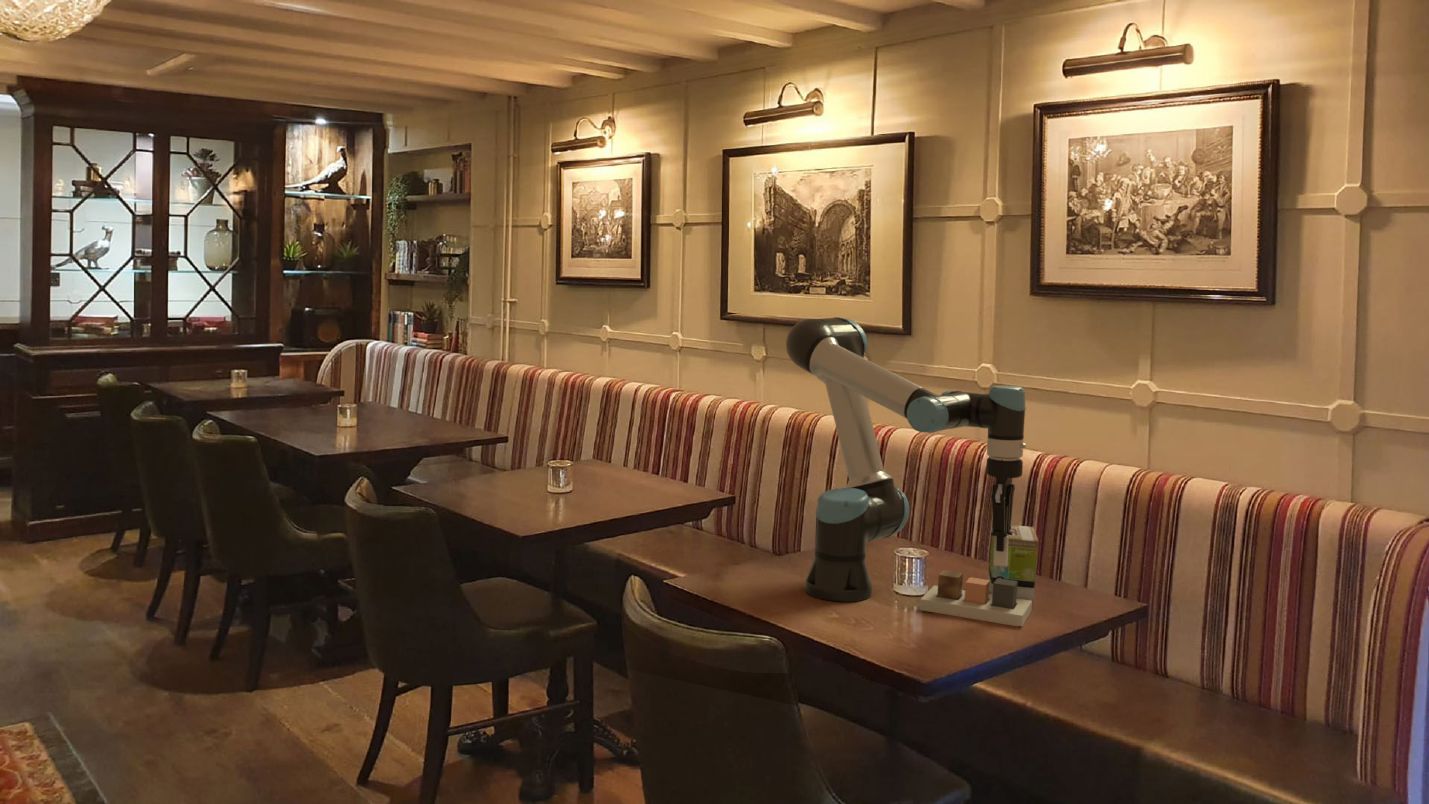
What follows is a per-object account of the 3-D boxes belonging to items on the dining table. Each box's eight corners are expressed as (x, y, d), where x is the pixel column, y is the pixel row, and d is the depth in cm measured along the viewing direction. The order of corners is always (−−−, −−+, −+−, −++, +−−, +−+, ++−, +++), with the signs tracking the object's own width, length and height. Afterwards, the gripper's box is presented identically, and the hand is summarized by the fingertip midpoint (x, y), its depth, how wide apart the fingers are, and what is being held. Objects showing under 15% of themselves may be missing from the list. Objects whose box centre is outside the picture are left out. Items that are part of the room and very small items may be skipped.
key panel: (919, 610, 244) (920, 599, 244) (933, 595, 255) (934, 585, 255) (1021, 627, 235) (1022, 615, 235) (1031, 611, 246) (1032, 600, 245)
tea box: (1034, 603, 252) (1039, 540, 250) (989, 599, 254) (993, 536, 252) (1029, 585, 267) (1034, 525, 265) (987, 581, 269) (991, 521, 267)
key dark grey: (991, 605, 241) (993, 583, 240) (995, 600, 245) (997, 578, 244) (1012, 608, 239) (1014, 586, 239) (1016, 603, 243) (1017, 581, 242)
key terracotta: (964, 604, 244) (965, 582, 243) (968, 598, 248) (970, 577, 247) (984, 607, 242) (985, 585, 241) (988, 602, 246) (989, 580, 245)
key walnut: (937, 596, 246) (938, 574, 245) (942, 591, 250) (943, 570, 249) (957, 599, 244) (958, 577, 244) (961, 594, 248) (963, 573, 248)
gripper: (1016, 463, 231) (1012, 573, 234) (1028, 455, 243) (1023, 560, 245) (980, 460, 234) (976, 569, 237) (993, 452, 246) (989, 556, 249)
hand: (1000, 564), depth 241 cm, fingers closed
